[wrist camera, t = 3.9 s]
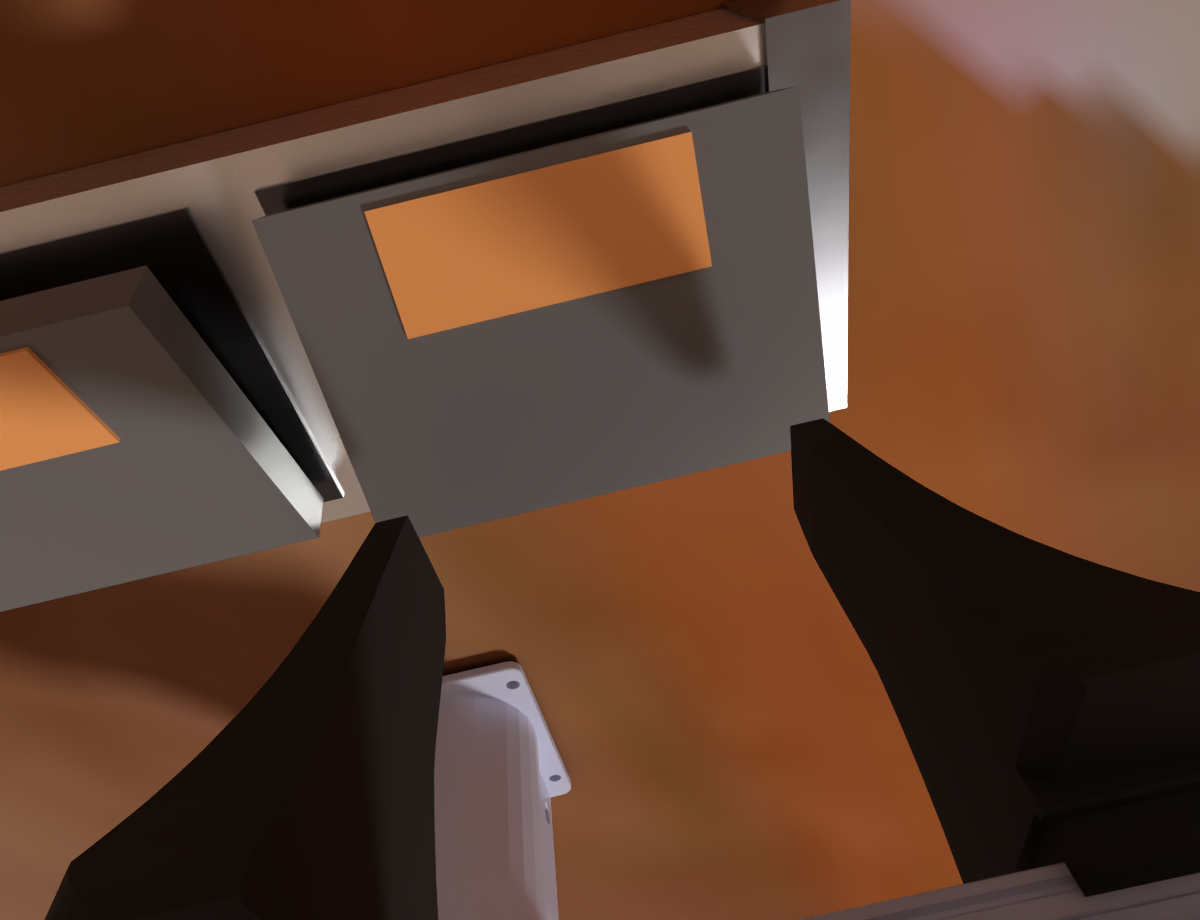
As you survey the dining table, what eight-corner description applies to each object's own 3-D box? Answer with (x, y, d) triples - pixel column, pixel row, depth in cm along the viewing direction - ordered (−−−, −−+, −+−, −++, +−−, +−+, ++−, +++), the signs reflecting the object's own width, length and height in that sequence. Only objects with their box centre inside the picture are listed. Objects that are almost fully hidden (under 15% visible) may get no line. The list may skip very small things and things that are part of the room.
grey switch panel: (804, 349, 22) (846, 407, 19) (-381, 630, 22) (-494, 721, 20) (793, -15, 16) (850, -3, 13) (-783, 376, 17) (-1010, 457, 14)
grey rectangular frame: (805, 413, 17) (833, 442, 16) (397, 508, 18) (384, 547, 16) (770, 90, 14) (800, 86, 13) (281, 210, 15) (249, 220, 13)
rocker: (325, 483, 19) (318, 540, 17) (-48, 571, 19) (-80, 633, 18) (152, 249, 13) (127, 309, 12) (-363, 376, 14) (-438, 446, 12)
